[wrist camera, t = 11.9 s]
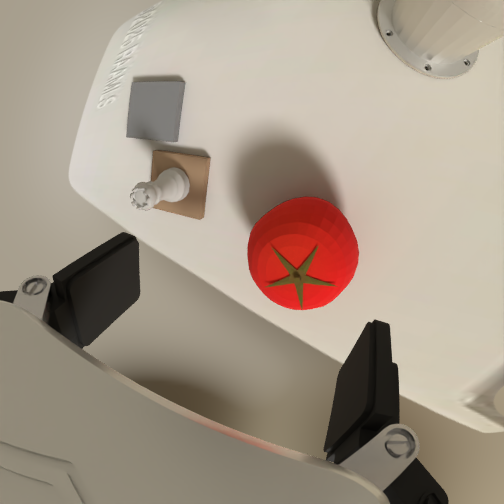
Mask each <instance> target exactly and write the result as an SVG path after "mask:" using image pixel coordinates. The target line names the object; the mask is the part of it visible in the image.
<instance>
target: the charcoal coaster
mask: <svg viewBox="0 0 504 504" xmlns="http://www.w3.org/2000/svg"><path fill="white" fill-rule="evenodd" d="M184 89H185V82H181V81H157V82H132V87H131V95H130V103H129V112H128V123H127V135H126V137H129V138H140V139H150V140H159V141H168V142H177V141H178V135H179V126H180V118H181V110H182V103H183V95H184Z"/></svg>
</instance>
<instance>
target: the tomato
mask: <svg viewBox="0 0 504 504" xmlns="http://www.w3.org/2000/svg"><path fill="white" fill-rule="evenodd" d="M358 257H359V250H358V244H357V240H356V237H355V235H354V232H353V230H352V228H351V226H350V224H349V222H348V221H347V219H346V218H345V216H344V215H343V214H342V213H341V211H340V210H339V209H338V208H336V207H335V206H334V205H332V204H331V203H330V202H328V201H325V200H323V199H320V198H315V197H300V198H294V199H291V200H288V201H286V202H283V203H282V204H280V205H278V206H276V207H275V208H273V209H272V210H270V211H269V212H268V213H267V214H265V215H264V216H263V217H262V218H261V219H260V220H259V221H258V222H257V223H256V224H255V226H254V227H253V229H252V231H251V233H250V238H249V242H248V264H249V270H250V273H251V276H252V278H253V280H254V282H255V283H256V285H257V286H258V287H259V289H260V290H261V291H262V292H263V293H264V294H265V295H266V296H267V297H268V298H269V299H270V300H272V301H273V302H275V303H276V304H278V305H281V306H283V307H286V308H290V309H294V310H307V309H313V308H318V307H322V306H325V305H326V304H328V303H330V302H332V301H333V300H334V299H335V298H336V297H337V296H338V295H339V294H340V293H341V292H342V291H343V290H344V289H345V288H346V287H347V285H348V284H349V283H350V281H351V280H352V278H353V276H354V273H355V270H356V267H357V264H358Z"/></svg>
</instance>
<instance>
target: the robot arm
mask: <svg viewBox="0 0 504 504" xmlns="http://www.w3.org/2000/svg"><path fill="white" fill-rule="evenodd" d="M377 21H378V27H379V30H380V33H381V35H382V37H383V39H384V41H385V43H386V44H387V45H388V47H389V48H390V49H391V51H392V52H393V53H394V54H395V55H396V56H397V57H398V58H399V59H400V60H401V61H402V62H404V63H405V64H406V65H408V66H409V67H411V68H412V69H414V70H416V71H417V72H420V73H422V74H424V75H427V76H430V77H434V78H442V79H448V78H455V77H458V76H461V75H463V74H464V73H466V72H468V71H469V70H470V69H471V68H472V67H473V66H474V64H475V62H476V60H477V57H478V53H479V49H480V48H482V47H484V46H486V45H488V44H490V43H491V42H493V41H495V40H497V39H499V38H501V37H503V36H504V0H381V1H380V3H379V6H378V12H377ZM387 34H390V36H388V35H387ZM464 62H465V63H466V65H465V63H464ZM424 67H427V68H428V71H427V70H426V69H425V68H424ZM53 280H54V282H53V283H50V280H49V279H48V278H47V277H44V276H39V275H37V276H32V277H29V278H27V279H26V280H24V281H23V282H22V283H21V285H20V286H19V289H18V290H17V291H3V292H0V504H448V497H447V495H446V493H445V491H444V490H443V489H442V488H441V486H440V485H439V484H438V483H437V482H436V480H435V479H434V478H433V477H432V476H431V475H430V473H429V472H428V471H427V470H426V469H425V468H424V466H423V465H422V464H421V463H420V461H419V460H418V459H417V458H416V456H417V454H418V452H419V448H420V447H419V440H418V437H417V435H416V434H415V433H414V431H413V430H412V429H410V428H409V427H407V426H405V425H403V424H399V377H398V366H397V364H396V363H393V362H392V351H391V336H390V325H389V324H388V323H385V322H381V321H378V320H374V321H373V322H372V323H371V322H368V323H367V324H366V326H365V328H364V330H363V331H362V333H361V335H360V337H359V339H358V340H357V342H356V344H355V346H354V347H353V349H352V351H351V352H350V354H349V356H348V358H347V359H346V361H345V363H344V364H343V366H342V367H341V369H340V371H339V374H338V378H337V383H336V389H335V395H334V401H333V407H332V412H331V416H330V422H329V426H328V431H327V436H326V441H325V445H324V452H327V453H328V454H327V457H326V460H323V459H320V458H316V457H313V456H310V455H307V454H304V453H301V452H297V451H294V450H291V449H287V448H284V447H281V446H278V445H275V444H272V443H269V442H266V441H264V440H261V439H258V438H255V437H253V436H250V435H247V434H244V433H242V432H239V431H236V430H234V429H231V428H228V427H226V426H224V425H221V424H219V423H217V422H214V421H212V420H209V419H207V418H205V417H203V416H200V415H198V414H196V413H194V412H192V411H189V410H187V409H185V408H183V407H181V406H179V405H177V404H175V403H173V402H171V401H169V400H167V399H165V398H163V397H161V396H159V395H157V394H155V393H153V392H152V391H149V390H148V389H146V388H144V387H142V386H141V385H139V384H137V383H135V382H133V381H132V380H130V379H128V378H127V377H125V376H123V375H122V374H120V373H118V372H117V371H115V370H113V369H111V368H110V367H108V366H107V365H105V364H104V363H102V362H101V361H99V360H97V359H96V358H94V357H93V356H91V355H90V354H88V353H87V352H85V351H84V350H82V348H83V347H84V346H88V345H90V344H91V343H92V342H93V341H94V340H95V339H96V338H97V337H98V336H99V335H100V334H101V333H102V332H103V331H104V330H106V329H107V328H108V327H109V326H110V325H111V324H112V323H113V322H114V321H115V320H116V319H117V318H118V317H119V316H120V315H122V314H123V313H124V312H125V311H126V310H127V309H128V308H129V307H130V306H131V305H132V304H134V303H135V302H136V301H137V300H138V298H139V296H140V276H139V243H138V241H137V239H136V237H135V236H133V235H131V234H128V233H125V232H122V233H120V234H118V235H117V236H115V237H113V238H112V239H110V240H108V241H107V242H105V243H103V244H102V245H100V246H98V247H97V248H95V249H93V250H92V251H90V252H89V253H87V254H85V255H84V256H82V257H81V258H79V259H77V260H76V261H74V262H73V263H71V264H70V265H68V266H66V267H65V268H63V269H62V270H60V271H59V272H58V273H56V274H54V275H53ZM329 461H331V462H334V463H331V462H329Z"/></svg>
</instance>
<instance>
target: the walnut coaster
mask: <svg viewBox="0 0 504 504" xmlns="http://www.w3.org/2000/svg"><path fill="white" fill-rule="evenodd" d="M210 159H211V158H208V157H202V156H196V155H190V154H183V153H177V152H170V151H162V150H155V151H153V159H152V175H151V181H152V182H154V181H155V180H157V178H158V177H159V175H160V174H161V173H162V172H163V171H165V170H167V169H169V168H173V167H175V168H179V169H181V170H182V171H183V172H185V174H186V175H187V177H188V179H189V184H190V187H189V192H188V194H187V196H186V197H185V198H184V199H182V200H180V201H177V202H168V201H165V200H162V201H160V202H159V203H158V204H157V205H154V207H153V208H155V209H159V210H163V211H167V212H171V213H175V214H179V215H183V216H187V217H191V218H195V219H198V220H200V219H202V218H203V217H204V212H205V202H206V193H207V184H208V175H209V167H210Z"/></svg>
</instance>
